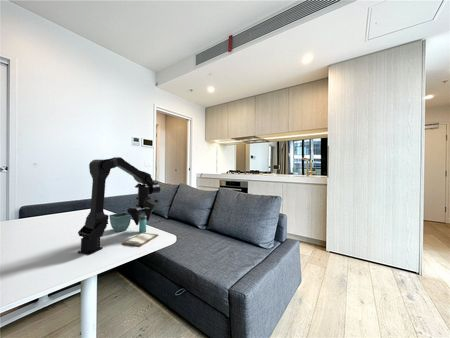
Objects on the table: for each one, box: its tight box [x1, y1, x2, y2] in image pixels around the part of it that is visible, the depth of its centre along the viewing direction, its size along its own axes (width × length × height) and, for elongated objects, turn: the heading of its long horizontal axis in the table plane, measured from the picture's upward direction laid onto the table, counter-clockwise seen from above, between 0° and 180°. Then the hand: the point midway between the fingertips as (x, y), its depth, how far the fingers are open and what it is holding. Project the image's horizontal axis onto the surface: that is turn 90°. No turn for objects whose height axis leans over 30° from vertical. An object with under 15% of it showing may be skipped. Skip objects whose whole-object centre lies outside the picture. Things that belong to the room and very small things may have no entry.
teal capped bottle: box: [138, 214, 147, 234], centre depth 107 cm, size 4×4×9 cm
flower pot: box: [108, 211, 132, 233], centre depth 109 cm, size 9×9×9 cm
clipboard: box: [121, 232, 159, 247], centre depth 96 cm, size 15×10×1 cm, turn 168°
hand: (142, 222), depth 107 cm, fingers open, 9 cm apart
